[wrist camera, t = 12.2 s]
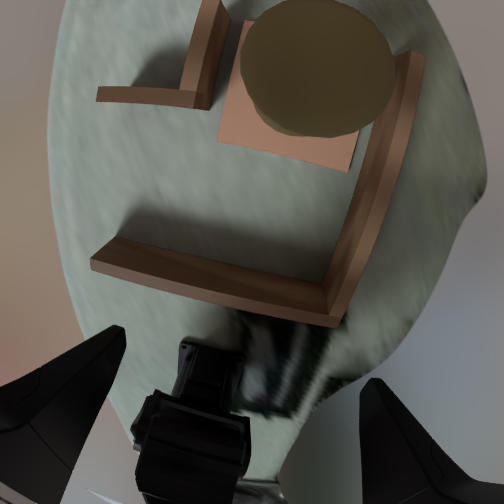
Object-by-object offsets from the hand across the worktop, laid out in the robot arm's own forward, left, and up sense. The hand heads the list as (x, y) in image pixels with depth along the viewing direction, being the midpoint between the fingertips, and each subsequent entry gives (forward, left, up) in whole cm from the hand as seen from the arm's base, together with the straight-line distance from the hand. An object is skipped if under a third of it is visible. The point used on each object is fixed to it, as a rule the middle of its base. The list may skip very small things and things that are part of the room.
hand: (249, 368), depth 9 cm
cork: (+10, 0, -13) cm, 16 cm away
